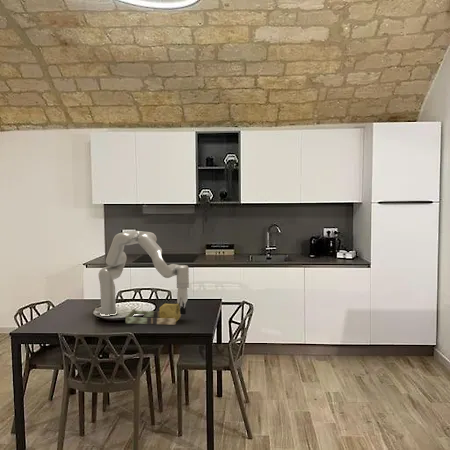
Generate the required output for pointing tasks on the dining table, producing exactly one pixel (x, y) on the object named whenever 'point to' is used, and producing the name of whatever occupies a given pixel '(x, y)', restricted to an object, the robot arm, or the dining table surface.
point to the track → (149, 320)
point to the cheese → (169, 311)
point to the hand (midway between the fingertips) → (183, 314)
